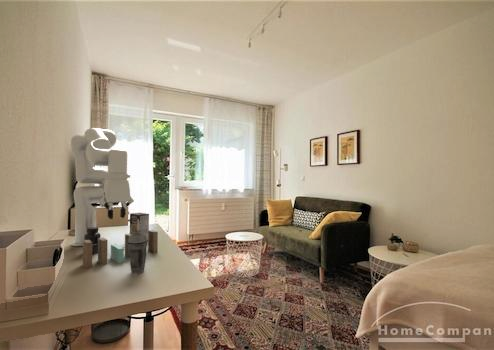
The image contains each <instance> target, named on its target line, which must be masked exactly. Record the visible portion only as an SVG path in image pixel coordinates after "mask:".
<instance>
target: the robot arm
mask: <svg viewBox="0 0 494 350" xmlns="http://www.w3.org/2000/svg"><path fill="white" fill-rule="evenodd" d="M116 143H117V136H116V134H115V132H114V131H112V130H110V129H103V128H97V127H96V128H95V127H92V128H91V127H90V128H88V129H86V130H85V131H84V134H76V135H73V136H72V137H71V140H70V149H71V152H72V154H73V157H74V161H75V178H76V181H77V183H79V184H80V185H82V186H78V187H76V188H75V189H74V190H73V199H74V208H75V210H74V213H75V215H74V216H75V217H74V218H75V221H74V224H75V226H74V240H73V241H71V245H70V246H73V247H83V241H84V235H85V234H87V232H86V231H87V228H90V227H97V211H96V208H95V207H94V206H93V205H92V204H99V205H101V206H103V207H104V208H105V209H106V210H107V218H108V219H110V220H113V218H114V210H113V205H114V203H115V204H116V203H120V206H121V207H120V212H119V213H120V215H119V216H120V218H122V219H124V218H125V216H126V214H127V213H126V212H127V211H126V210H127V208H128V207H129V206H131V204H132V203H134V199H133V197H132V196H131V189H130V182H129V180H128V179H129V178H131V175H130V174H128V152H127V150H125V149H119V148H118V149H117V148H114V149H113V147H114V146H115V144H116ZM95 166H97V167H95ZM102 166H103V167H102ZM104 167H107V168H104ZM83 185H84V186H83ZM85 185H87V186H85ZM95 185H96V186H95Z"/></svg>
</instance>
